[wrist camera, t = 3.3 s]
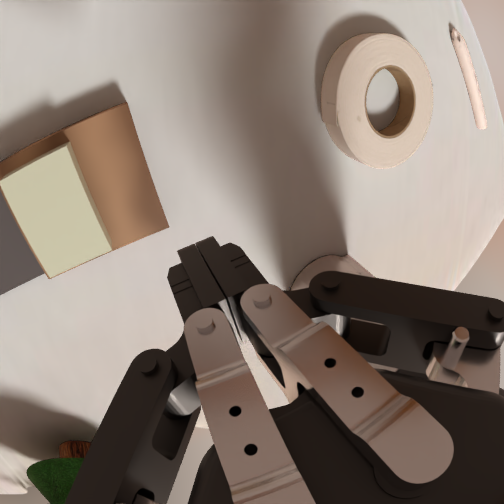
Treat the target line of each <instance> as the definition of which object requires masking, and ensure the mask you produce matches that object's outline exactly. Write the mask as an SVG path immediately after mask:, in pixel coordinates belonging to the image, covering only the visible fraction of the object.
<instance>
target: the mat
mask: <svg viewBox="0 0 504 504" xmlns="http://www.w3.org/2000/svg"><path fill="white" fill-rule="evenodd" d="M6 159H7V158H6ZM3 161H4V160H3ZM1 162H2V161H1ZM44 273H45V272H44V271H43V269H42V267H41V266H40V264H39V262H38V261H37V259H36V257H35V256H34V254H33V252H32V251H31V249H30V247H29V245H28V243H27V242H26V240H25V238H24V236H23V234H22V233H21V231H20V229H19V227H18V225H17V223H16V221H15V219H14V217H13V215H12V213H11V211H10V209H9V207H8V205H7V203H6V201H5V199H4V197H3V195H2V193H1V191H0V295H2V294H4V293H5V292H7V291H9V290H11V289H13V288H15V287H17V286H19V285H21V284H23V283H26V282H28V281H30V280H32V279H34V278H36V277H38V276H40V275H42V274H44Z"/></svg>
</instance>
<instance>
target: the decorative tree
mask: <svg viewBox="0 0 504 504" xmlns="http://www.w3.org/2000/svg"><path fill="white" fill-rule="evenodd" d="M90 445H91V443H89V442H85V441H67V442H64V443H62V444H61V445H60V446H59V453H60V458H56V459H48V460H43V461H40V462H37V463H34V464H33V465H31V466H30V467H29V468H28V469H27V476H28V478H29V479H30V481H31V482H32V483H33V484H34V485H35V487H36V488H37V489H38V490H39V491H40V492H41V493H42V495H43V496H44V497H45V498H46V499H47V500H48V501H49V502H50V503H51V504H64V503H65V501H66V499H67V496H68V494H69V492H70V489H71V487H72V485H73V483H74V480H75V478H76V476H77V474H78V471H79V469H80V467H81V465H82V463H83V460H84V458H85V456H86V454H87V452H88V450H89V447H90Z"/></svg>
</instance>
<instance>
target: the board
mask: <svg viewBox="0 0 504 504" xmlns="http://www.w3.org/2000/svg"><path fill="white" fill-rule="evenodd" d="M69 141H70V143H71V146H72V148H73V151H74V154H75V156H76V159H77V162H78V164H79V167H80V169H81V172H82V174H83V177H84V179H85V182H86V184H87V186H88V189H89V191H90V194H91V196H92V198H93V200H94V203H95V205H96V207H97V210H98V212H99V214H100V216H101V219H102V221H103V223H104V225H105V227H106V229H107V232H108V234H109V236H110V238H111V241H112V251H113V250H116V249H118V248H120V247H123V246H125V245H127V244H130V243H132V242H135V241H137V240H139V239H142V238H144V237H146V236H149V235H151V234H154V233H156V232H159V231H161V230H164V229H166V228H168V227H169V225H168V222H167V219H166V217H165V214H164V211H163V209H162V206H161V203H160V200H159V197H158V195H157V192H156V189H155V186H154V183H153V180H152V178H151V175H150V172H149V169H148V166H147V163H146V160H145V157H144V154H143V151H142V148H141V145H140V142H139V138H138V135H137V132H136V129H135V126H134V123H133V119H132V116H131V113H130V110H129V106H128V103H127V102H125V103H122V104H119V105H117V106H114V107H112V108H109V109H107V110H104V111H102V112H99V113H97V114H94V115H92V116H90V117H87V118H85V119H83V120H81V121H78V122H76V123H74V124H72V125H70V126H67V127H65V128H63V129H61V130H59V131H57V132H55V133H53V134H51V135H49V136H47V137H45V138H43V139H41V140H39V141H37V142H35V143H33V144H31V145H29V146H28V147H26V148H24V149H22V150H20V151H18V152H17V153H15V154H13V155H11V156H10V157H8V158H7V159H5V160H4V161H2V162H0V180H1V179H2V178H3V177H4V176H5V175H6V174H8V173H10V172H11V171H13V170H15V169H17V168H18V167H20V166H22V165H24V164H26V163H27V162H29V161H31V160H33V159H35V158H37V157H39V156H41V155H43V154H45V153H47V152H49V151H51V150H53V149H55V148H57V147H59V146H61V145H63V144H65V143H67V142H69ZM0 191H1V193H2V195H3V197H4V199H5V201H6V203H7V205H8V207H9V209H10V211H11V213H12V215H13V217H14V219H15V221H16V223H17V225H18V227H19V229H20V231H21V233H22V234H23V236H24V238H25V240H26V242H27V243H28V245H29V247H30V249H31V251H32V252H33V254H34V256H35V257H36V259H37V261H38V262H39V264H40V266H41V267H42V269H43V271H44V272H45V274H46V275H47V277H48V279H51V278H53V277H51V278H50V277H49V276H48V274H47V272H46V271H45V269H44V267H43V266H42V264H41V262H40V261H39V259H38V257H37V256H36V254H35V252H34V251H33V249H32V247H31V245H30V243H29V242H28V240H27V238H26V236H25V234H24V233H23V231H22V229H21V227H20V225H19V223H18V221H17V219H16V217H15V215H14V213H13V211H12V209H11V207H10V205H9V203H8V201H7V199H6V197H5V195H4V193H3V191H2V188H1V186H0ZM109 252H111V251H109ZM109 252H107V253H109ZM105 254H106V253H105ZM102 255H104V254H102ZM102 255H100V256H102ZM100 256H98V257H100ZM96 258H97V257H96ZM93 259H95V258H93ZM93 259H91V260H93ZM91 260H89V261H91ZM86 262H88V261H86ZM86 262H84V263H86ZM84 263H82V264H84ZM82 264H80V265H82ZM78 266H79V265H78ZM75 267H77V266H75ZM75 267H73V268H75ZM73 268H71V269H73ZM69 270H70V269H69ZM67 271H68V270H67ZM64 272H66V271H64ZM64 272H62V273H64ZM62 273H60V274H62ZM60 274H58V275H60ZM56 276H57V275H56ZM54 277H55V276H54Z"/></svg>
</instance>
